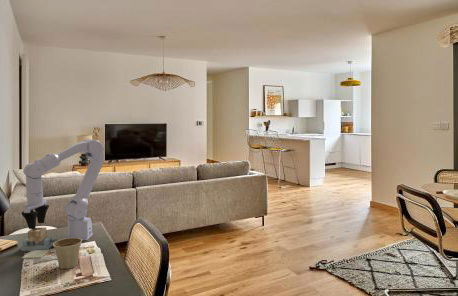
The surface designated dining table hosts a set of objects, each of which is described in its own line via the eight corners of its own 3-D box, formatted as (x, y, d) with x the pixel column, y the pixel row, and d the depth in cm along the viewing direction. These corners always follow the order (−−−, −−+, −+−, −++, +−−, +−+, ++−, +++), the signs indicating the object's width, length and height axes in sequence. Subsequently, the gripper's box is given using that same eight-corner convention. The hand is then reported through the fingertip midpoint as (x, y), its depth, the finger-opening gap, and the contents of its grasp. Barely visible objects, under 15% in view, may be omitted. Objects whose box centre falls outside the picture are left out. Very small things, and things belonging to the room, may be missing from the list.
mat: (49, 250, 139) (49, 249, 139) (41, 257, 132) (41, 256, 132) (31, 251, 139) (31, 250, 139) (22, 258, 132) (22, 257, 132)
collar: (46, 236, 146) (46, 227, 145) (41, 240, 141) (40, 231, 140) (34, 237, 145) (33, 227, 145) (28, 241, 140) (27, 231, 140)
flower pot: (89, 262, 127) (87, 238, 127) (69, 272, 119) (68, 248, 118) (68, 259, 130) (67, 236, 130) (47, 269, 122) (46, 245, 121)
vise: (61, 243, 147) (61, 227, 147) (54, 249, 140) (53, 232, 140) (30, 244, 146) (29, 228, 146) (21, 251, 140) (19, 233, 139)
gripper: (33, 189, 148) (35, 221, 150) (14, 197, 134) (16, 231, 135) (50, 189, 149) (52, 220, 150) (33, 196, 134) (35, 231, 135)
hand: (36, 225), depth 143 cm, fingers open, 7 cm apart
